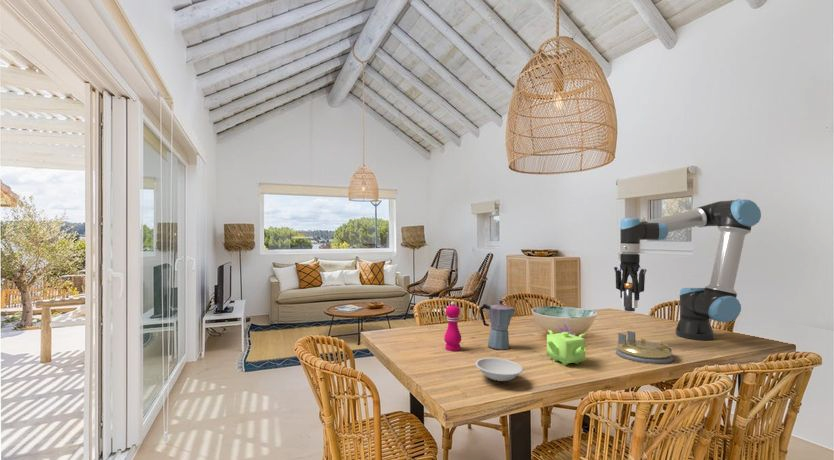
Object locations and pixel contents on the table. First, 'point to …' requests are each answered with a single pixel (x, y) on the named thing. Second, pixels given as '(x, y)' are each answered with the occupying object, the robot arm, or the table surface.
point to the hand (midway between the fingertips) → (629, 306)
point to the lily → (566, 329)
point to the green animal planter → (566, 347)
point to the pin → (628, 296)
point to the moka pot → (498, 324)
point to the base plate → (643, 358)
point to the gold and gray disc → (642, 347)
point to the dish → (499, 368)
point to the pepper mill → (452, 328)
